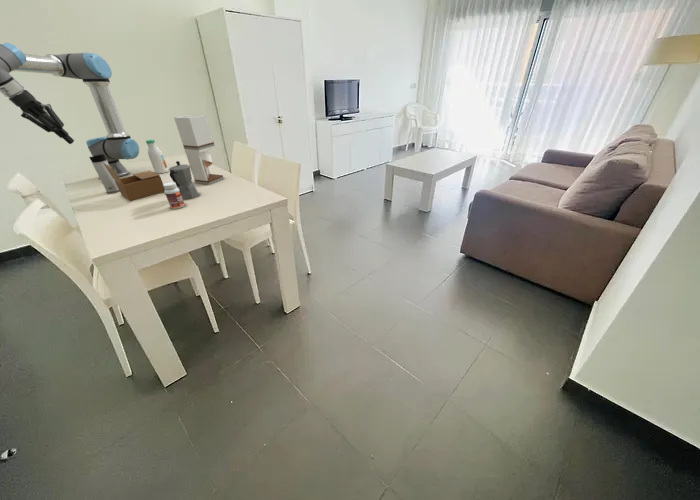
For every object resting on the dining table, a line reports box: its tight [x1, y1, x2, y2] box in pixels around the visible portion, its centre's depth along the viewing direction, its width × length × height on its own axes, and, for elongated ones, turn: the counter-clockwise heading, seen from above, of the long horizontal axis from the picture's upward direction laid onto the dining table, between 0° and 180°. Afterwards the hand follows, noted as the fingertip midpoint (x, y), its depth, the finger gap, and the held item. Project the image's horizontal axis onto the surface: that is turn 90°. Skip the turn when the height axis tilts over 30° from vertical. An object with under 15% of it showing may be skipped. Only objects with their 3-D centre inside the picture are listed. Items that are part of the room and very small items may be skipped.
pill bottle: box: [163, 181, 186, 210], centre depth 132 cm, size 6×6×11 cm
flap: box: [103, 163, 123, 184], centre depth 139 cm, size 8×14×1 cm
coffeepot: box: [168, 160, 200, 200], centre depth 141 cm, size 15×9×18 cm, turn 179°
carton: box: [115, 170, 166, 202], centre depth 149 cm, size 17×14×9 cm
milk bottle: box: [145, 139, 169, 175], centre depth 180 cm, size 8×8×20 cm
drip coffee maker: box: [173, 114, 224, 186], centre depth 158 cm, size 11×11×35 cm
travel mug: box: [88, 154, 120, 194], centre depth 150 cm, size 6×7×20 cm
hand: (71, 142), depth 137 cm, fingers closed
